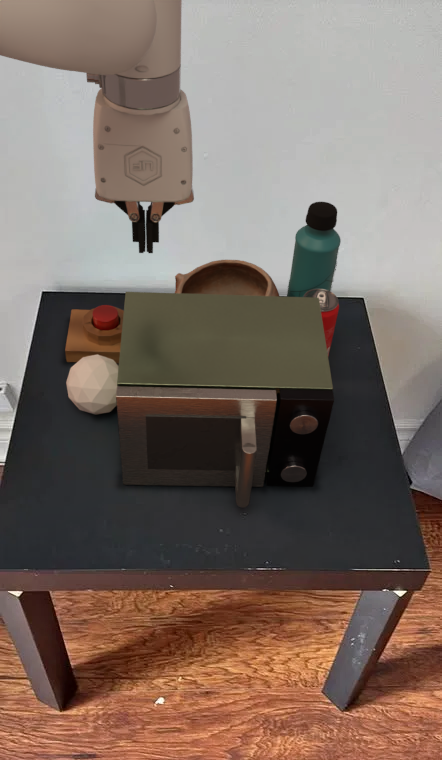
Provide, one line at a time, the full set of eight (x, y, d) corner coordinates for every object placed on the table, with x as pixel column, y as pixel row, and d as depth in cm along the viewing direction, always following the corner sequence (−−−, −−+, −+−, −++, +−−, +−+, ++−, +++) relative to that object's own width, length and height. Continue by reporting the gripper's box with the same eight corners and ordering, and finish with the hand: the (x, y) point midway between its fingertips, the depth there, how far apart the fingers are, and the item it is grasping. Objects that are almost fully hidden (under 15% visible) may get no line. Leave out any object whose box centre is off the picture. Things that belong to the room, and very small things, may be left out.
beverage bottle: (292, 344, 112) (312, 226, 96) (274, 317, 115) (290, 198, 100) (331, 335, 113) (357, 217, 98) (312, 308, 117) (333, 191, 101)
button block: (144, 364, 107) (143, 342, 104) (66, 362, 107) (63, 340, 104) (146, 322, 113) (145, 301, 110) (73, 320, 112) (70, 299, 109)
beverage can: (288, 375, 108) (299, 308, 98) (292, 351, 111) (303, 284, 101) (323, 381, 107) (338, 314, 98) (327, 356, 110) (341, 290, 101)
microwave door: (265, 521, 91) (280, 436, 79) (120, 519, 90) (112, 432, 78) (262, 477, 96) (276, 389, 83) (123, 474, 95) (116, 385, 82)
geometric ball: (89, 427, 103) (49, 405, 97) (96, 374, 105) (58, 349, 99) (134, 419, 99) (96, 396, 93) (140, 365, 102) (103, 338, 95)
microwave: (313, 492, 95) (335, 404, 82) (122, 489, 93) (115, 399, 81) (301, 388, 106) (318, 297, 93) (131, 384, 105) (125, 291, 92)
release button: (117, 331, 106) (117, 321, 105) (92, 330, 106) (91, 320, 104) (119, 314, 108) (118, 305, 107) (94, 314, 108) (93, 304, 107)
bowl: (166, 306, 115) (165, 251, 108) (265, 301, 118) (272, 246, 110) (178, 377, 106) (179, 322, 98) (286, 370, 108) (295, 315, 100)
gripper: (59, 97, 69) (78, 264, 84) (220, 103, 70) (211, 267, 85) (66, 61, 74) (83, 226, 88) (217, 67, 75) (209, 228, 89)
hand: (146, 245), depth 86 cm, fingers closed
